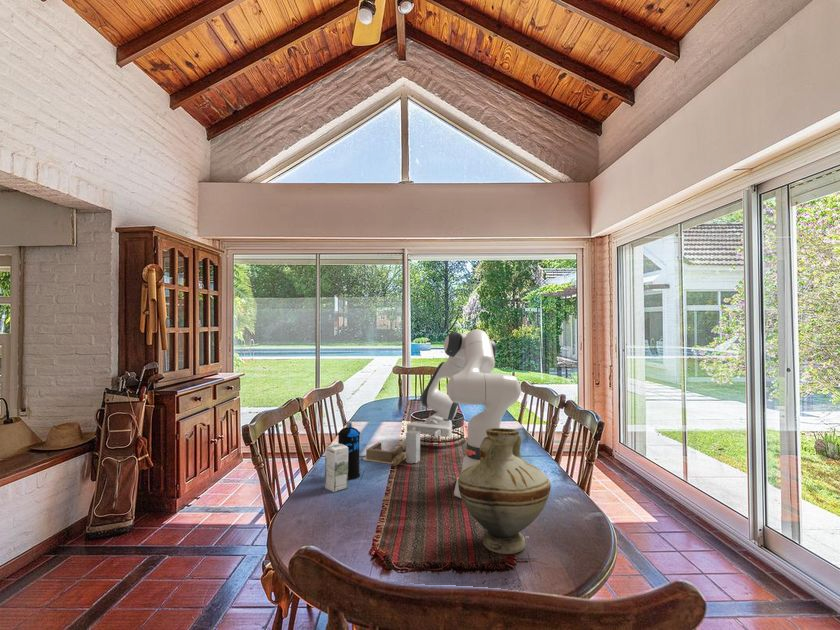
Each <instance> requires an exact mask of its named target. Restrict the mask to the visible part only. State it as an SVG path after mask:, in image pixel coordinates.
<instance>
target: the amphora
mask: <svg viewBox="0 0 840 630" xmlns="http://www.w3.org/2000/svg"><path fill="white" fill-rule="evenodd" d="M486 433H487V436H488V437H485V438H484V439H483V440H482V443H481V445H480V460H479V461H477V462H475V463H473V464H471V465H470V466H468V467H466V468H465V469H464V470H463V471H462V470H461V471H462V472H461V471H460V472H461V473H460V472H459V476H458V477H459V478H458V477H457V478H458V486H459V492H460V495H461V498H460V499H461V500H462V502H463V505H464V507H465V508H466V510H467V511H468V512H469V514H470V515H471V517H473V519H474V520H475V521H476V522H477V523H478V524H479V525H480V526H482V528H484V529H485V531H484V532H483V533H482V544H483V546H484V547H485V548H486V549H487V550H489V551H490V552H493V553H496V554H501V555H513V554H517V553H520V552H522V551H523V550H524V549H525V548H526V539H525V537H524V535H523V534H522V533H521V531H524V530H525V529H526V528H527V527H529V526H530V525H532V523H533V522H535V520H536V519H537V518H538V517H539V516H540V514H541V513H542V511H543V510H544V508H545V506H546V504H547V501H548V499H549V496H550V492H551V488H552V485H551V481H550V479H549V478H548V477H547V475H546V474H545V473H544V472H543V471H542V470H540V468H538V467H536V466H535V465H534V464H531V463H530V462H528V461H526V460H525V459H523V458H522V455H521V444H522V437H521V435H520V431H519V430H517V429H514V428H504V427H503V428H502V427H500V428H491V429H487V430H486ZM492 449H493V454H492V455H491V456H490V454H491V451H492Z"/></svg>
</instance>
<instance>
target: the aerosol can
mask: <svg viewBox="0 0 840 630" xmlns="http://www.w3.org/2000/svg"><path fill="white" fill-rule="evenodd" d="M337 435H338V438H337V439H338V441H337V444H343V445H345V446H347V447H348V481H349V480H350V481H351V480H356V479H358V478H359V477H360V476H361V474H360V435H361V431H359V430H358V429H357V428H355V427H353V422H352V421H351V420H348V421H346V427H343V428H342V429H340V430H339V432H338V433H337Z"/></svg>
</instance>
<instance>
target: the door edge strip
mask: <svg viewBox="0 0 840 630" xmlns="http://www.w3.org/2000/svg"><path fill="white" fill-rule="evenodd" d="M405 458H406V451H405V452H404V453H403V454H402V455H401V456H399V457H398V458H396V459H395V460H394V461H393V464H392V466H393V467H397V466H398V465H399V464H401V463H402V462H403V461H405V460H406V459H405Z"/></svg>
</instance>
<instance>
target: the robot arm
mask: <svg viewBox="0 0 840 630" xmlns="http://www.w3.org/2000/svg"><path fill="white" fill-rule="evenodd" d="M443 348H444V353H445V355H446V356H448V357H447V360H446V361H441V362H440V363H439V364H438V366H436V368H435V370H434V372H433V374H432V376H431V377H430V379H429V381H428V383H427V384H426V387H425V388H424V389H423V391H422V392H421V395H420V402H421V404H422V406H423V407H425V408H428V409H431V410H432V411H434V413H433V414H432V415H430V416H429V417H427V418H426V419H425V420H424V421H417V420H416V421H411V422H409V423H407V424H406V433H407V432H408V431H410V430H413V431H420V435H429V436H430V437H437V436H439V437H451V436H452V434H453V422H452V421H453V420H454V419H455V417H456V416H457V413H458V411H459V404H460V405H464V406H465V405H467V406H468V405H470V406H471V405H472V406H478V405H479V406H482V405H483V406H485V407H484V408H483V410H482V411H481V412H479V413H476V414H475V415H473V416H472V417H471V418H470V419H469V420H468V423H467V442H466V446H465V456H463V461H462V462H463V463H462V467H461V470H460V472H459V474H460V473H461V472H462V471H463V470H464V469H465V468H466V467H468V466H470V465H471V464H473V463H475V462H477V461H479V460H480V445H481V443H482V440H483V439H484V438H485V437H488V436H487V433H486V430H487V429H491V428H501V423H502V420H503V417H504V415H505V414H506V412H507V410H509V408H510V407H511V406H512V405H514V404H515V403H516V402H517V401H518V400H519V398H520V396H521V392H522V387H521V384H520V381H519V379H518V378H517V377H516V376H514V375H511V374H506V373H501V372H500V373H498V372H497V373H495V372H494V373H493V371H494V370H495V367H496V366H495V365H496V362H495V361H496V360H495V357H496V355H497V344H496V342H495V340H493V339H491V338H490V337H489V335H488V334H487V333H486V332H485V330H483V329H478V328H477V329H476V328H475V329H472V330H470V331H469V332H467V333H463V332H458V331H457V332H455V331H453V332H450V333H448V334H447V335H446V337H445V339H444V343H443ZM442 379H448V382H447V385H446V391H447V392H446V393H445V392H444V391H441V390H440V389H438V385H439V384H440V381H441V380H442ZM492 454H493V449H492V451H491V454H490V456H491V455H492ZM458 478H459V476H458V477H457V478H456V483H455V486H454V490H453V495H454V496H455V497H456V498H459V499H462V498H461V495H460V492H459V486H458Z"/></svg>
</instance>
